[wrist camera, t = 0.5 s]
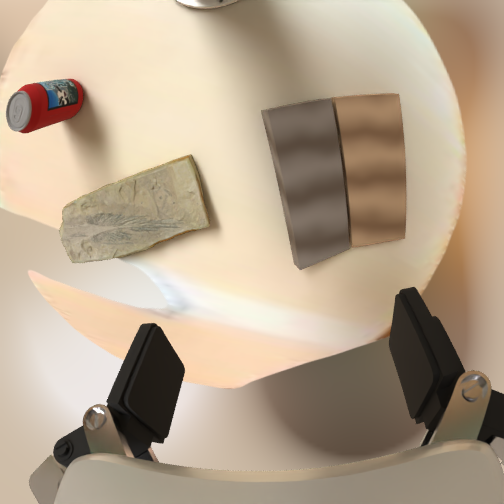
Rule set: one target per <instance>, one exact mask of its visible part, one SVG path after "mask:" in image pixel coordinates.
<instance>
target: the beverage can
mask: <svg viewBox="0 0 504 504" xmlns="http://www.w3.org/2000/svg"><path fill="white" fill-rule="evenodd" d="M82 102H83V91H82V87H81V85H80V84H79V83H78V82H77V81H76V80H74V79H62V80H53V81H45V82H39V83H33V84H28V85H25V86H23V87H21V88H20V89H19V90H18V91H17V92H16V93H14V94H13V95H12V96H11V98H10V99H9V102H8V105H7V109H6V118H7V122H8V125H9V127H10V128H11V129H12V130H13V131H19V132H21V133H29V132H32V131H35V130H38V129H40V128H43V127H46V126H49V125H52V124H55V123H58V122H61V121H64V120H67V119H70V118H72V117H74V116H75V115H76V114H77V113H78V111H79V110H80V108H81V105H82Z"/></svg>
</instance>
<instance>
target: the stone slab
mask: <svg viewBox="0 0 504 504" xmlns="http://www.w3.org/2000/svg"><path fill="white" fill-rule="evenodd" d="M62 215H63V216H62V219H63V222H62V225H61V227H60V230H59V233H60V237H61V241H62V244H63V246H64V247H65V249H66V251H67V254H68V256H69V258H70V260H71V261H72V263H85V262H91V261H102V260H108V259H112V258H121V257H125V256H128V255H130V254H133V253H136V252H140V251H144V250H147V249H149V248H151V247H153V246H154V245H156V244H158V243H159V242H163V241H167V240H170V239H172V238H174V237H175V236H178V235H181V234H183V233H186V232H190V231H196V230H198V229H202V228H204V227H206V228H207V227H209V224H210V219H209V216H208V213H207V209H206V206H205V202H204V197H203V192H202V188H201V182H200V177H199V173H198V171H197V168H196V166H195V163H194V161H193V159H192V156H191V154H190V155H187V156H184V157H181V158H178V159H175V160H172V161H170V162H167V163H165V164H162V165H160V166H157V167H154V168H151V169H148V170H145V171H142V172H140V173H138V174H135V175H133V176H130V177H127V178H125V179H122V180H120V181H118V182H116V183H112V184H108V185H106V186H103V187H102V188H100V189H98V190H96V191H93V192H91V193H89V194H87V195H83V196H82V197H80V198H78V199H77V200H74V201H72V202H70V203H68V204H67V205H66V206H65V207H64V208H63V211H62Z"/></svg>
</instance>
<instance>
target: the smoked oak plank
mask: <svg viewBox="0 0 504 504" xmlns="http://www.w3.org/2000/svg"><path fill="white" fill-rule="evenodd" d="M261 112H262V116H263V120H264V125H265V129H266V133H267V137H268V141H269V146H270V150H271V154H272V159H273V163H274V168H275V172H276V177H277V181H278V186H279V190H280V195H281V200H282V205H283V210H284V214H285V219H286V224H287V229H288V234H289V239H290V245H291V250H292V255H293V260H294V264H295V265H296V266H297V267H298V268H299V269H300V270H302V269H304V268H306V267H309V266H311V265H313V264H316V263H318V262H320V261H323V260H325V259H327V258H329V257H332V256H334V255H336V254H339V253H341V252H343V251H345V250H348V249H350V248H349V232H348V218H347V207H346V196H345V187H344V178H343V170H342V162H341V155H340V148H339V141H338V135H337V129H336V123H335V117H334V112H333V106H332V101H331V99H318V100H312V101H306V102H301V103H295V104H290V105H285V106H280V107H275V108H271V109H266V110H262V111H261Z"/></svg>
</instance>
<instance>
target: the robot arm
mask: <svg viewBox="0 0 504 504" xmlns="http://www.w3.org/2000/svg"><path fill="white" fill-rule="evenodd" d="M176 1H178V2H179V3H181V4H183V5H185V6H188V7H192V8H197V9H211V8H218V7H223V6H226V5H229V4H232V3H234V2H236V1H238V0H176ZM220 1H223V2H222V3H219V2H220ZM389 347H390V351H391V354H392V357H393V360H394V363H395V366H396V369H397V372H398V376H399V379H400V382H401V385H402V389H403V392H404V396H405V399H406V403H407V406H408V410H409V414H410V416H411V418H412V419H414V418H415V420H416V424H419V423H421V422H424V423H425V427H426V429H428V430H427V432H426V434H425V436H424V438H423V439H422V441H421V443H420V445H419V447H418V448H414V449H411V450H406V451H403V452H399V453H395V454H391V455H387V456H383V457H378V458H374V459H369V460H364V461H359V462H354V463H348V464H342V465H336V466H328V467H320V468H310V469H301V470H300V469H299V470H284V471H229V470H213V469H201V468H192V467H184V466H177V465H170V464H163V463H159V461H158V459H157V458H156V456H155V454H154V452H153V450H152V448H151V443H152V442H156V443H164V439H165V438H167V436H168V434H169V430H170V426H171V422H172V418H173V414H174V411H175V407H176V403H177V399H178V396H179V392H180V388H181V384H182V381H183V377H184V373H185V368H184V365H183V363H182V362H181V360H180V358H179V357H178V355H177V354H176V352H175V350H174V349H173V347H172V346H171V344H170V342H169V341H168V339H167V337H166V336H165V334H164V332H163V330H162V329H161V327H159V326H157V324H155V323H148V324H142V325H141V326H140V328H139V330H138V332H137V334H136V336H135V338H134V340H133V342H132V345H131V347H130V349H129V351H128V353H127V355H126V358H125V360H124V362H123V364H122V366H121V369H120V371H119V373H118V376H117V378H116V380H115V382H114V385H113V387H112V389H111V392H110V394H109V397H108V399H107V403H108V405H107V407H106V406H105V405H101V404H97V405H94V406H92V407H90V408H89V409H88V410H87V411H86V413H85V415H84V417H83V426H81V427H80V428H78V429H76V430H75V431H73V432H71V433H69V434H68V435H66V436H64V437H63V438H61V439H60V440H58V441H57V443H56V444H55V446H54V451H53V453H54V456H53V455H50V456H49V457H48V458H47V459H46V460H45V461H44V462H43V463H42V464H41V465H40V466H39V467H38V468H37V469H36V470H35V472H34V473H33V474H32V475H31V476H30V480H29V485H30V488H31V490H32V492H33V494H34V496H35V498H36V499H37V501H38V503H39V504H504V473H503V470H502V467H501V464H500V461H499V459H498V457H499V458H500V459H501V460H502V462H501V463H502V464H503V465H504V394H502V393H499V392H497V391H495V390H492V389H491V383H490V380H489V379H488V377H487V376H486V375H485V374H484V373H482V372H480V371H475V370H472V371H467V372H465V370H464V368H463V365H462V363H461V361H460V359H459V357H458V355H457V353H456V351H455V349H454V347H453V345H452V343H451V341H450V339H449V337H448V335H447V333H446V331H445V329H444V327H443V325H442V324H441V322H440V320H439V319H438V318H437V317H436V316H433V317H432V316H431V314H430V312H429V310H428V308H427V307H426V305H425V303H424V301H423V300H422V298H421V296H420V294H419V293H418V291H417V289H416V288H415V287H411V288H407V289H402V290H400V293H399V294H397V295H396V297H395V305H394V313H393V320H392V326H391V332H390V339H389ZM497 456H498V457H497Z"/></svg>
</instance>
